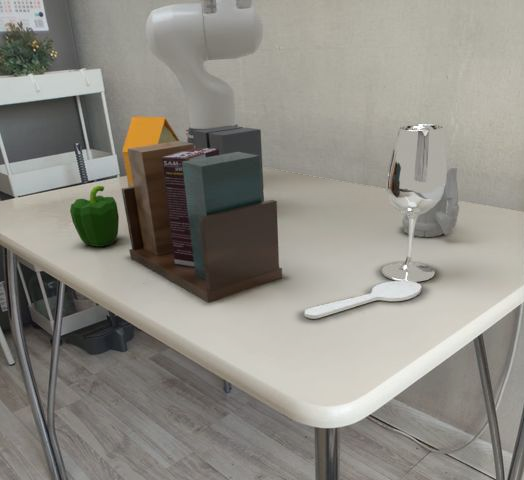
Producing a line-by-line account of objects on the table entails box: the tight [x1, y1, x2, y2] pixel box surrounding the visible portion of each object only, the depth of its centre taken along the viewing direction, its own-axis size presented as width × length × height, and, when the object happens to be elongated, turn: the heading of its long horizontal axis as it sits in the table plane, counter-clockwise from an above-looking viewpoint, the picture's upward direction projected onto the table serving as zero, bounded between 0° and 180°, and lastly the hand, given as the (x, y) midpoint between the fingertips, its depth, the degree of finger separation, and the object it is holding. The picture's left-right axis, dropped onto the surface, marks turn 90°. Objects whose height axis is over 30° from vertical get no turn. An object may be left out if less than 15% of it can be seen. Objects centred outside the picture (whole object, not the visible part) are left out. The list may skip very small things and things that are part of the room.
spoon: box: [303, 280, 422, 320], centre depth 70 cm, size 5×18×1 cm, turn 116°
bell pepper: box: [69, 185, 120, 247], centre depth 96 cm, size 8×8×10 cm
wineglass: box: [381, 123, 448, 283], centre depth 73 cm, size 8×8×20 cm
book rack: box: [121, 140, 283, 303], centre depth 80 cm, size 25×13×18 cm, turn 37°
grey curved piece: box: [401, 166, 460, 238], centre depth 90 cm, size 8×12×12 cm, turn 20°
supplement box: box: [162, 148, 219, 267], centre depth 80 cm, size 9×5×16 cm, turn 153°
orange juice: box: [122, 116, 180, 187], centre depth 102 cm, size 8×9×20 cm
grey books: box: [193, 125, 265, 202], centre depth 110 cm, size 11×9×16 cm
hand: (226, 11), depth 82 cm, fingers open, 8 cm apart
